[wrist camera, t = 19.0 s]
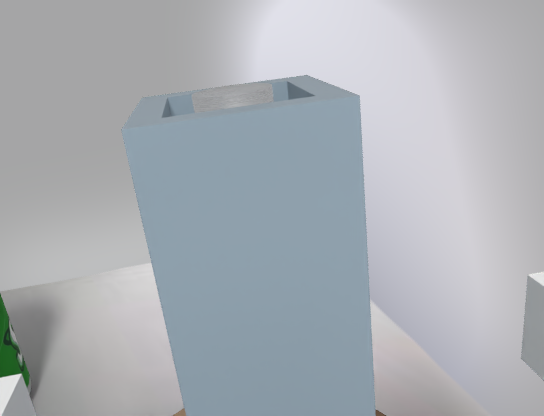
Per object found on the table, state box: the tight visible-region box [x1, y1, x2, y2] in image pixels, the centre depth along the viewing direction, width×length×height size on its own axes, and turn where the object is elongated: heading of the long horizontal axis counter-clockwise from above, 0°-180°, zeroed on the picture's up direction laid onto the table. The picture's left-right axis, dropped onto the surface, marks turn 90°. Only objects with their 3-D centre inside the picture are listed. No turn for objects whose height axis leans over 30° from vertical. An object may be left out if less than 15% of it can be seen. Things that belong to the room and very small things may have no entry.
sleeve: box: [122, 75, 376, 416], centre depth 22 cm, size 8×8×14 cm
